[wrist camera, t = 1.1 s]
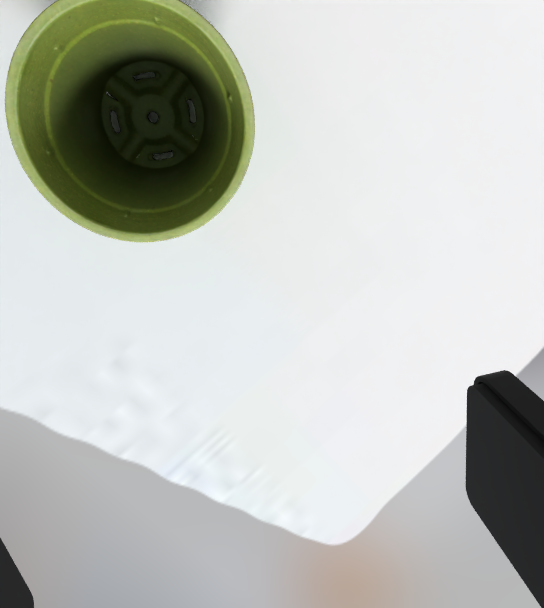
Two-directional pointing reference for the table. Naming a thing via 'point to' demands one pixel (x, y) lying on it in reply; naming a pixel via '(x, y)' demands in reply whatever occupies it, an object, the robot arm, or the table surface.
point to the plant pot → (129, 116)
